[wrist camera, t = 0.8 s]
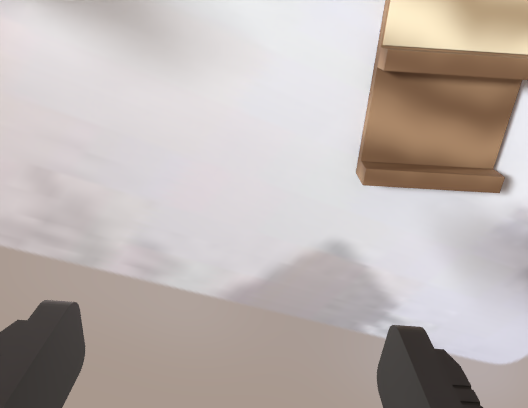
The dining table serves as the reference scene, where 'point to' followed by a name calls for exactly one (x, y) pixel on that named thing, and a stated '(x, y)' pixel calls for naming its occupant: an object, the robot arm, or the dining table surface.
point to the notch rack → (443, 93)
